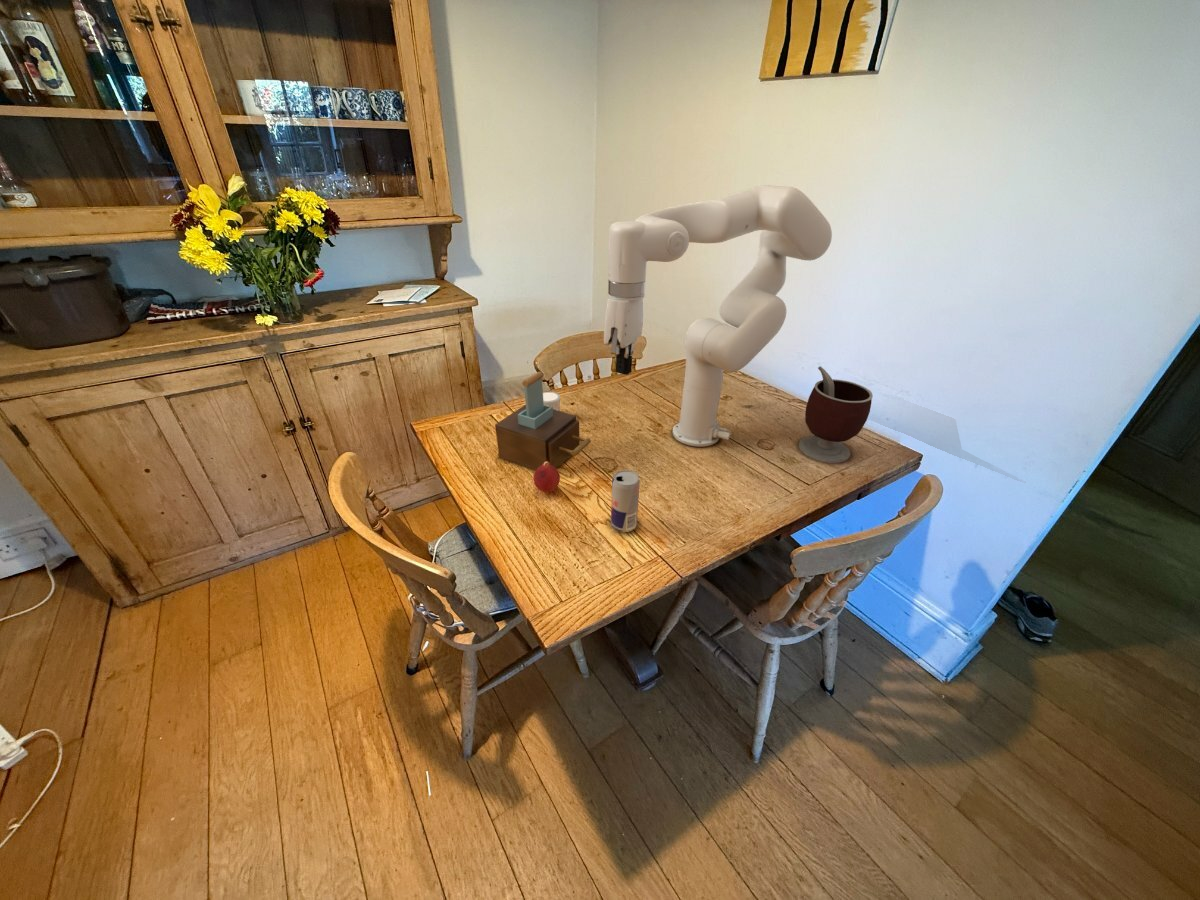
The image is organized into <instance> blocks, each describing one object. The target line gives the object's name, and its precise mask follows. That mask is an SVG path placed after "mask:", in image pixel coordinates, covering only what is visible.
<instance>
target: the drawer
mask: <svg viewBox="0 0 1200 900" xmlns="http://www.w3.org/2000/svg"><path fill="white" fill-rule="evenodd" d="M591 442H592V440H591V438H590V437H586V438H583V437H580V420H577V419H576V420H575V421H573V422H572V423H571V424H570V425H567V426H566V427H565V428H564V429H562V430H561V431H560V432H559V433H557V434H556V435H555V436H554V437H552V438H551V439H550V440H549V441H547V450H548V462H549V465H552V466H553V467H555V468H556V469H557V468H559V467H560V466H561V465H562V464H563V463H564V462H565V461H567V459H568V458H570V457H571V456H572V457H576V456H577V455H579V454H580V453H581V452H582V451H583V450H584V449H585V448H586V447H587V446H588V445H589V444H590V443H591Z"/></svg>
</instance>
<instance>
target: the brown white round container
mask: <svg viewBox="0 0 1200 900" xmlns="http://www.w3.org/2000/svg"><path fill="white" fill-rule="evenodd" d="M543 402H544V405H548V406H551V407H553V409H554V410H558V411H561V409H560V408H561V395H560V393H558V392H556V391H543Z"/></svg>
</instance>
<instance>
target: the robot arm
mask: <svg viewBox="0 0 1200 900" xmlns="http://www.w3.org/2000/svg"><path fill="white" fill-rule="evenodd" d="M832 230H833V229H832V227H831V224H830V222H829V221H828V219H827V218H826V216H824V214H823V213H822V211H820V210H819V208H818V207H817V205H815V203H814V202H813V201H812V200H811V199H810V198H809V196H807V195H806V194H805V193H804V192H802V191H801V190H800V189H798V188H796V187H794V186H783V185H771V184H764V185H756V186H753V187H750V188H746V189H743V190H740V191H737V192H733V193H730V194H727V195H724V196H723V195H722V196H719V197H716V198H711V199H706V200H700V201H696V202H690V203H684V204H679V205H674V206H668V207H665V208H661V209H657V210H654V211H651V212H648V213H643V214H642V215H640V216H638V217H637V218H636V219H635V220H619V221H615V222H613V223H612V224H611V225H610V226H609V230H608V267H607V268H608V272H607V273H608V277H607V279H608V280H607V297H608V298H607V301H606V308H605V315H604V326H603V327H604V328H603V343H604V345H605V346H609V345H611V347H610V354H611V355H614V356H615V373H617V374H620V375H625V376H628V375H629V374H631V372H632V369H633V368H632V366H633V354H634V348H635V343H636V342H637V340H638V339H639V338H641V336H642V333H643V328H644V327H643V326H644V298H645V297H646V296H645V295H646V276H647V263H648V262H658V263H659V262H661V263H671V262H674V261H676V260H679V259H681V257H683V256H684V255H685V253H687V250H688V248H689V245H690V243H693V244H694V243H696V244H718V243H723V242H727V241H729V240H733V239H735V238H739V237H741V236H745V235H747V234H751V233H753V232H756V231H760V235H759V244H758V245H759V246H758V253H757V259H756V262H755V264H754V266H753V267H752V268H751V270H749V272H748V273H747V274H746V275H745V276H744V277H743V278H742V279H741V281H740V282H738V284H736V285H735V287H733V288H732V290H731V291H730V292H729V293H728V294H727V295H726V296H725V297H724V299H723V300H722V301H721V303H720V306H719V316H720V318H721V319H722V320H723V321H724V322H722V321H720V320H718V319H714V318H711V317H701V318H698V319H695V320H694V321H693V322H691V324H690V325H689V327H688V328H687V331H686V332H685V336H684V351H685V370H684V378H683V379H684V380H683V386H682V387H683V390H682V397H681V398H682V399H681V403H680V404H681V405H680V412H679V413H680V415H679V422H678V423H676V424H675V425H674V426H673V427H672V437H674V439H675V440H677V441H678V442H679V443H681V444H684V445H686V446H691V447H695V448H696V447H699V448H703V447H709V446H712V445H714V444H716V443H717V442H718V441H719V440H720V439H721V440H726V441H730V439H731V432H729V428H726V427H721V426H720V425H719V423H720V420H718V419H717V417H718V411H719V406H720V400H721V392H722V387H723V382H724V371H725V372H728V373H736V372H738V371H740V370H742V369H744V368H745V367H746V366H747V365H748V364H749V363H750V362H751V361H752V360H753V359H755V357H756V356H758V354H759V353H760V352H761V351H762V350H763V349H764V348H765V347H767V345H768V344H769V343H770V342H771V341H772V340H773V339H774V338H775V337H776V336H777V334H778V333H779V332H780V330H781V329H782V327H783V325H784V323H785V321H786V317H787V305H786V302H785V301H784V300H783V299H782V298H781V297H779V296H777V295H778V294H779V292H780V291H781V290H782V288H783V287H784V285H785V283H786V278H787V257H788V258H792V259H796V260H801V261H808V262H809V261H815V260H817V259H820V258H821V257H822V256H824V254H825V253H826V252H827V251H828V249H829V248H830V245H831V242H832V239H833V232H832Z"/></svg>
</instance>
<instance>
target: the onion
mask: <svg viewBox="0 0 1200 900" xmlns="http://www.w3.org/2000/svg"><path fill="white" fill-rule="evenodd" d="M560 482H561V476H560V472H559V470H558V469H557V468H555V467H553V466H552V465H549V462H548V461H547V462H544V464H543V465H541V466H540V467H538V468H537V470H534V473H533V484H534V486H535V487H536V488H537V489H538V491H541V492H543V493H550V492H552V491H554V490H555V489H557V487H558V486H559V485H560Z"/></svg>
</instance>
